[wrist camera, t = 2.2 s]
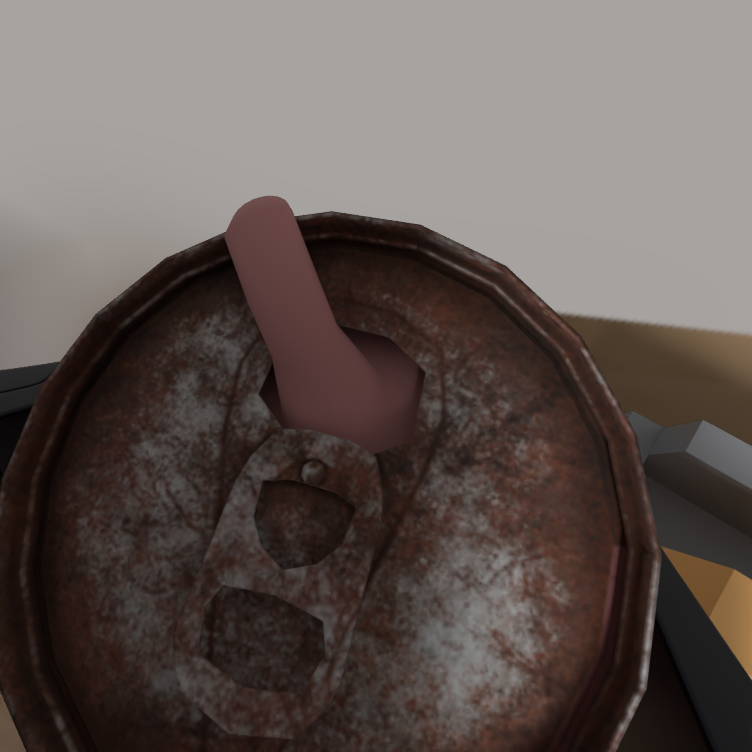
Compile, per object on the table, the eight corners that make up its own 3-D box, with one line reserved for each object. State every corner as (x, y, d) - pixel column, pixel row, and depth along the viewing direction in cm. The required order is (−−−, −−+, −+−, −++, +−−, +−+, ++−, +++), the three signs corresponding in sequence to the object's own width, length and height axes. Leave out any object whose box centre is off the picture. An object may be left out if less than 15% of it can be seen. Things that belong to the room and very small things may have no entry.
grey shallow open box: (754, 1072, 12) (975, 1484, 7) (398, 758, 15) (381, 897, 10) (952, 627, 13) (1241, 712, 9) (597, 422, 16) (666, 399, 11)
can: (444, 379, 17) (479, 53, 4) (510, 531, 16) (953, 860, 2) (309, 432, 18) (-89, 295, 4) (360, 588, 16) (-24, 1179, 3)
